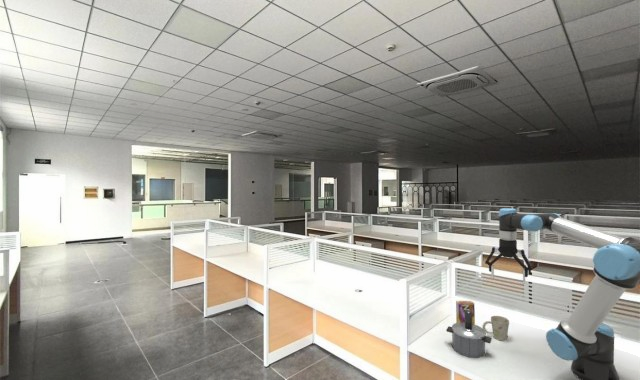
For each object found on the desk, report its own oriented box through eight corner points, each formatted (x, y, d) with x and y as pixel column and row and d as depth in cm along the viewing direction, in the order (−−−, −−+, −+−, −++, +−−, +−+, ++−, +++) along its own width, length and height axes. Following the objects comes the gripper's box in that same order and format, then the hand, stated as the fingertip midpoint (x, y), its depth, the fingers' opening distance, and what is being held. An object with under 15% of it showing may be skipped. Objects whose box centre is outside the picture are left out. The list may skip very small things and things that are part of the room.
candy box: (472, 326, 171) (472, 300, 171) (475, 330, 167) (475, 303, 166) (455, 326, 172) (455, 300, 172) (458, 330, 168) (458, 303, 167)
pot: (493, 349, 148) (493, 331, 148) (488, 363, 137) (488, 343, 136) (451, 337, 160) (451, 320, 160) (443, 349, 149) (443, 331, 149)
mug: (511, 342, 154) (511, 323, 154) (485, 340, 157) (485, 321, 156) (505, 334, 162) (505, 316, 162) (480, 332, 165) (480, 314, 164)
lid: (488, 329, 149) (488, 310, 149) (482, 342, 138) (482, 321, 137) (456, 321, 159) (456, 303, 158) (448, 333, 147) (448, 312, 147)
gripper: (538, 240, 147) (538, 283, 147) (481, 235, 162) (481, 274, 162) (538, 242, 141) (537, 287, 141) (478, 237, 156) (479, 277, 156)
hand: (507, 280), depth 152 cm, fingers open, 13 cm apart
